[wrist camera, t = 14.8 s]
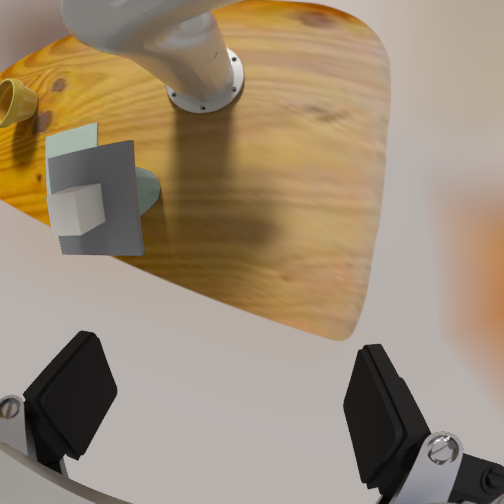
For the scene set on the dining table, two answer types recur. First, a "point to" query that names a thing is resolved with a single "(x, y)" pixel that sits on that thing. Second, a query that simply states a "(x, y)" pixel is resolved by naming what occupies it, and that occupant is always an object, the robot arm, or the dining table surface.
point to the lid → (96, 201)
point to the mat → (70, 143)
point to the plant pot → (16, 102)
